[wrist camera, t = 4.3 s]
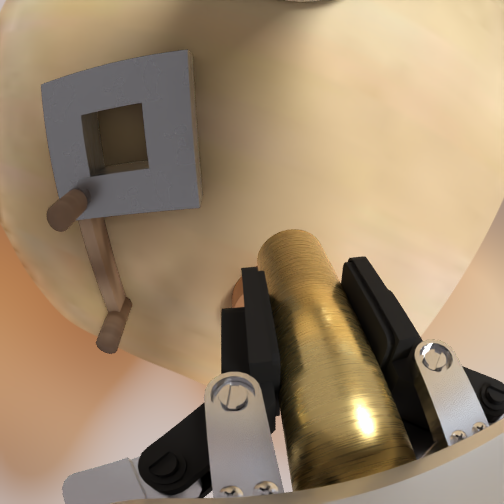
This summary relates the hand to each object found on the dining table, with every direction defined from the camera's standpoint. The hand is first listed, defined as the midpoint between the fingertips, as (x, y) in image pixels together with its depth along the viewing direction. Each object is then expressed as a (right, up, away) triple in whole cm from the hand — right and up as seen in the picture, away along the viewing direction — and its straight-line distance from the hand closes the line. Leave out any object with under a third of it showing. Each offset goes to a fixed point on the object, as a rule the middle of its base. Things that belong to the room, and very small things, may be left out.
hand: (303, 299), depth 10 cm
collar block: (-11, +11, +10) cm, 19 cm away
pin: (0, +1, +2) cm, 3 cm away
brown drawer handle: (-15, +2, +15) cm, 21 cm away
